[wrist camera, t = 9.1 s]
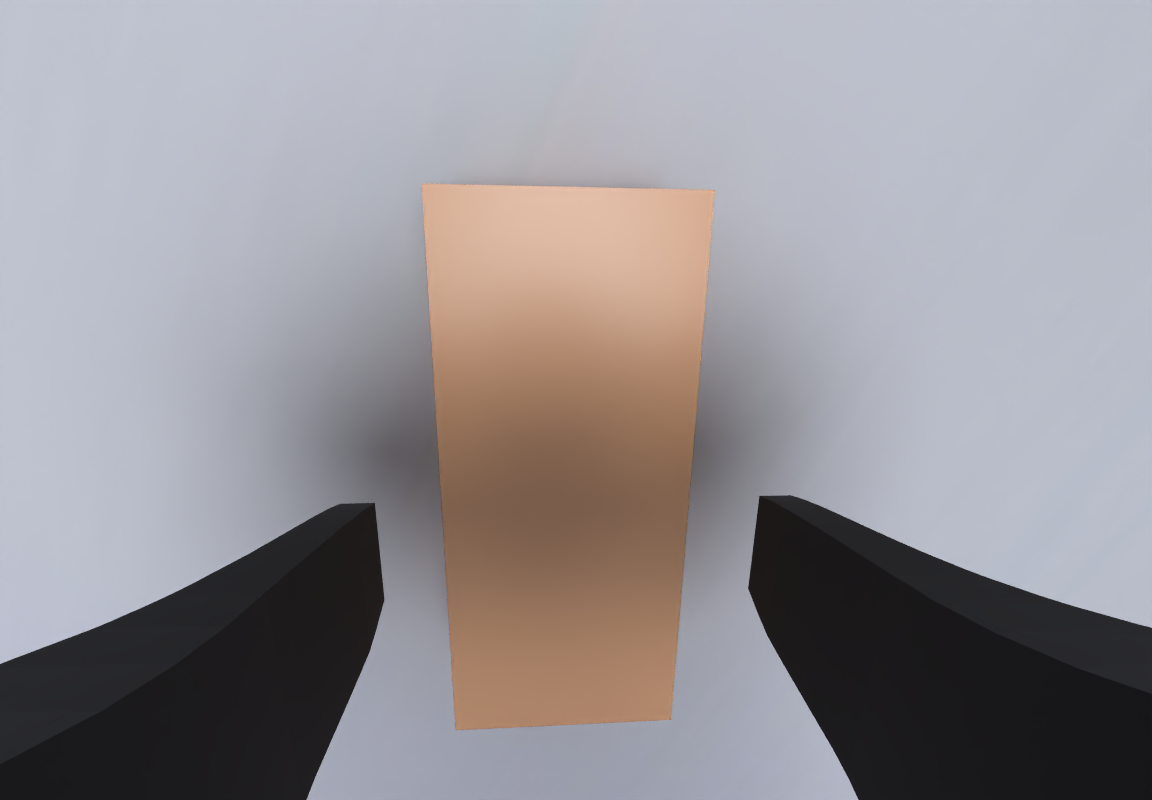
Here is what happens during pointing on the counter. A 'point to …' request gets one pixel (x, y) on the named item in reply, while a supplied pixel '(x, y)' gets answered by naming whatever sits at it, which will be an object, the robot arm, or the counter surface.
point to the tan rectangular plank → (565, 442)
